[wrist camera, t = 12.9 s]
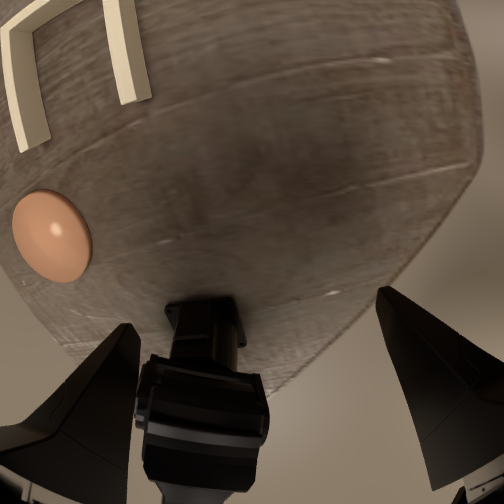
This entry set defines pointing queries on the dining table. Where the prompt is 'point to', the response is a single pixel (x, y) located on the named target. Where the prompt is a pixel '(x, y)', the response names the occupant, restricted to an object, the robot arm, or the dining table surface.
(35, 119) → the cream u-shaped frame
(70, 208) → the orange tan disc
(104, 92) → the dining table surface
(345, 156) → the dining table surface
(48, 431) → the robot arm
